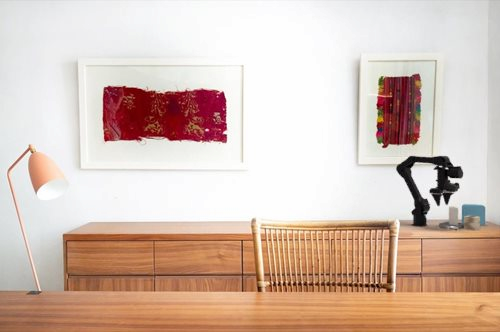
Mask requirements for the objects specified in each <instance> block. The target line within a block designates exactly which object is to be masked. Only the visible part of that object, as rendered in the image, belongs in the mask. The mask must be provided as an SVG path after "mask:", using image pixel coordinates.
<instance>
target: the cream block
mask: <svg viewBox="0 0 500 332" xmlns="http://www.w3.org/2000/svg"><path fill="white" fill-rule="evenodd" d="M448 221H449V224H451V225H458V223H459V207H458V206H448Z"/></svg>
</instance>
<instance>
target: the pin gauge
mask: <svg viewBox="0 0 500 332" xmlns="http://www.w3.org/2000/svg"><path fill="white" fill-rule="evenodd" d="M439 228H440V229H446V228H449V229H448V230H454V229H459V227H454V226H446V225H440V227H439ZM459 230H460V229H459Z"/></svg>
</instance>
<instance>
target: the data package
mask: <svg viewBox="0 0 500 332" xmlns="http://www.w3.org/2000/svg"><path fill="white" fill-rule="evenodd" d="M464 216H477V217H480V227H481V226H485V225H486V206H485V205H483V204H478V203H477V204H476V203H473V204H472V203H471V204H470V203H469V204H467V203H464V204H462V205H461V223H464Z"/></svg>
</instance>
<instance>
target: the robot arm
mask: <svg viewBox="0 0 500 332" xmlns="http://www.w3.org/2000/svg"><path fill="white" fill-rule="evenodd" d="M416 163H418V164H421V163H422V164H431V165H435V167H433V170H434V171H437V172H436V175H437V176H436V177H437V179H435V182H437V183H436V186H435V187H432V188H431V187H430V189H429V194H430V195H431V197H432V198H433V200H434V202H435V204H436V206H437V207H440V205H441V199H442V198H443V201H444V204H445V205H446V206H448V205H449V202H450V200H451V196H452V195H454V194H455V193H456V192H458V191H459V189H461V188H460V183H459V182H455V183H454V182H453V183H452V182H451V180H450V179H463V177H464V171H463V168H462V166H460V165H459V166H458V165H456V166H454V164H453V163H452V162H451V159H450V157H449V156H447V155H435V156H417V155H409V156H408V157H407V158H406V159H405V160H402V161H401V162H400V163H399V164H397V165H396V168H395V170H396V172H397V174H398V175H399V176H400V177H401V178H402V179H403V181H404V183H405V184H406V186H407V189H408V191H409V192H410V194H411V196H412V198H413V205H414V208H413V210H412V211H411V215H412V217H413V219H412V224H411V226H418V227H424V226H427V225H428V223H427V215H428V212H430V210H431V203H430V202H429V200H428V198H424V197H423V196H422V194H421V192H420V190H419V188H418V186H417V184H416V182H415V180H414V178H413V176H412V175H413V174H412V168H413V167H414V165H415V164H416Z"/></svg>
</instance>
